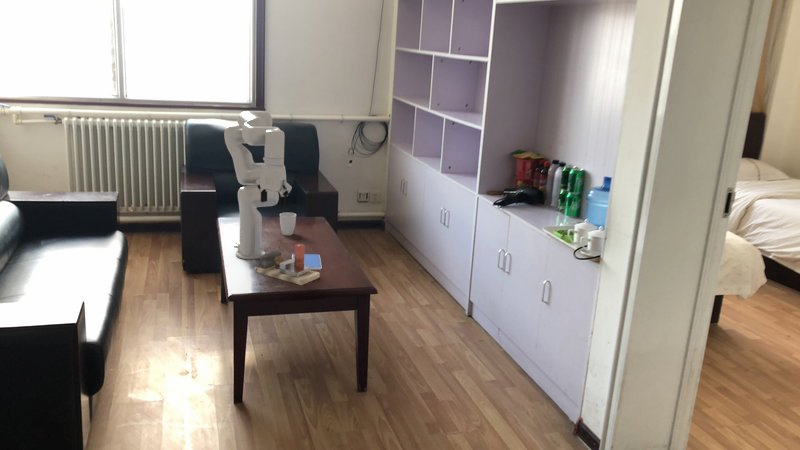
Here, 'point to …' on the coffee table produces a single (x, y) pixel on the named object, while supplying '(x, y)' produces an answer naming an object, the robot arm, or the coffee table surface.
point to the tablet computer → (312, 261)
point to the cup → (287, 223)
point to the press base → (272, 268)
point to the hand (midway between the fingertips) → (273, 203)
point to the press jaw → (295, 263)
